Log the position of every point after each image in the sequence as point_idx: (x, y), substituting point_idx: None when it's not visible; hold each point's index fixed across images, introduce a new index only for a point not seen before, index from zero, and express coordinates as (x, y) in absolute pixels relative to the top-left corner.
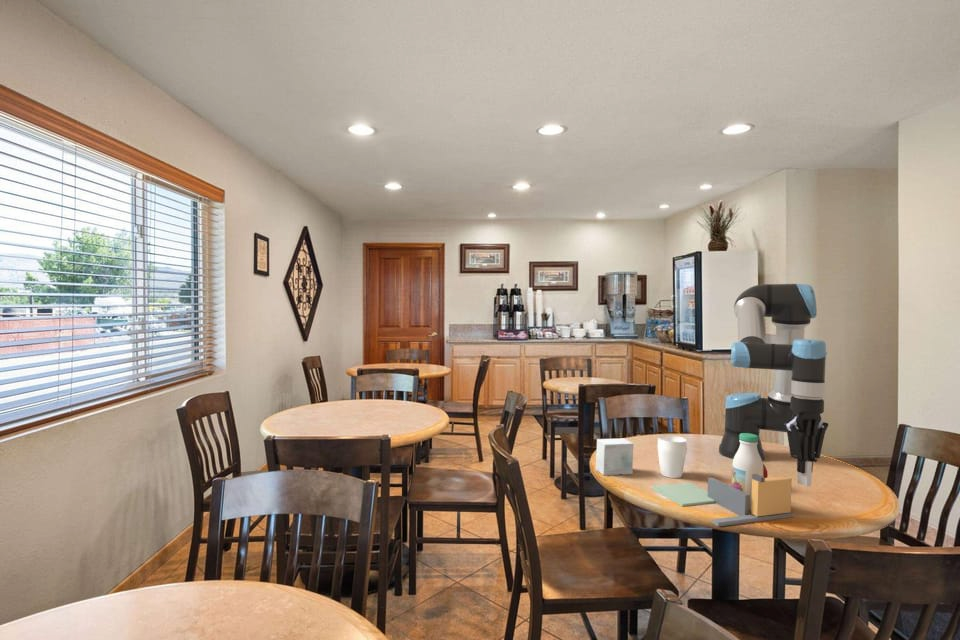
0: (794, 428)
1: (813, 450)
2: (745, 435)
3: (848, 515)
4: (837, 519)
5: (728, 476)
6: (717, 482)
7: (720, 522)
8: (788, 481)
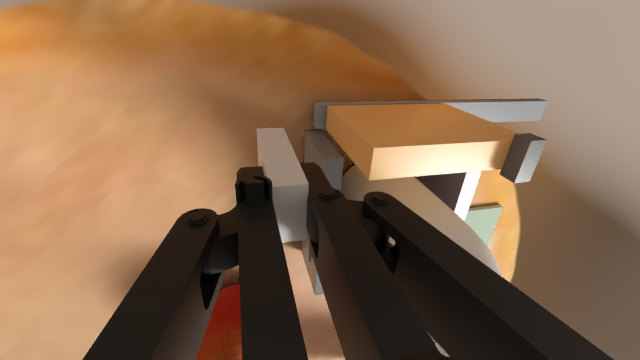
0: None
1: (258, 246)
2: None
3: (79, 59)
4: (168, 42)
5: None
6: None
7: (541, 101)
8: (386, 142)
